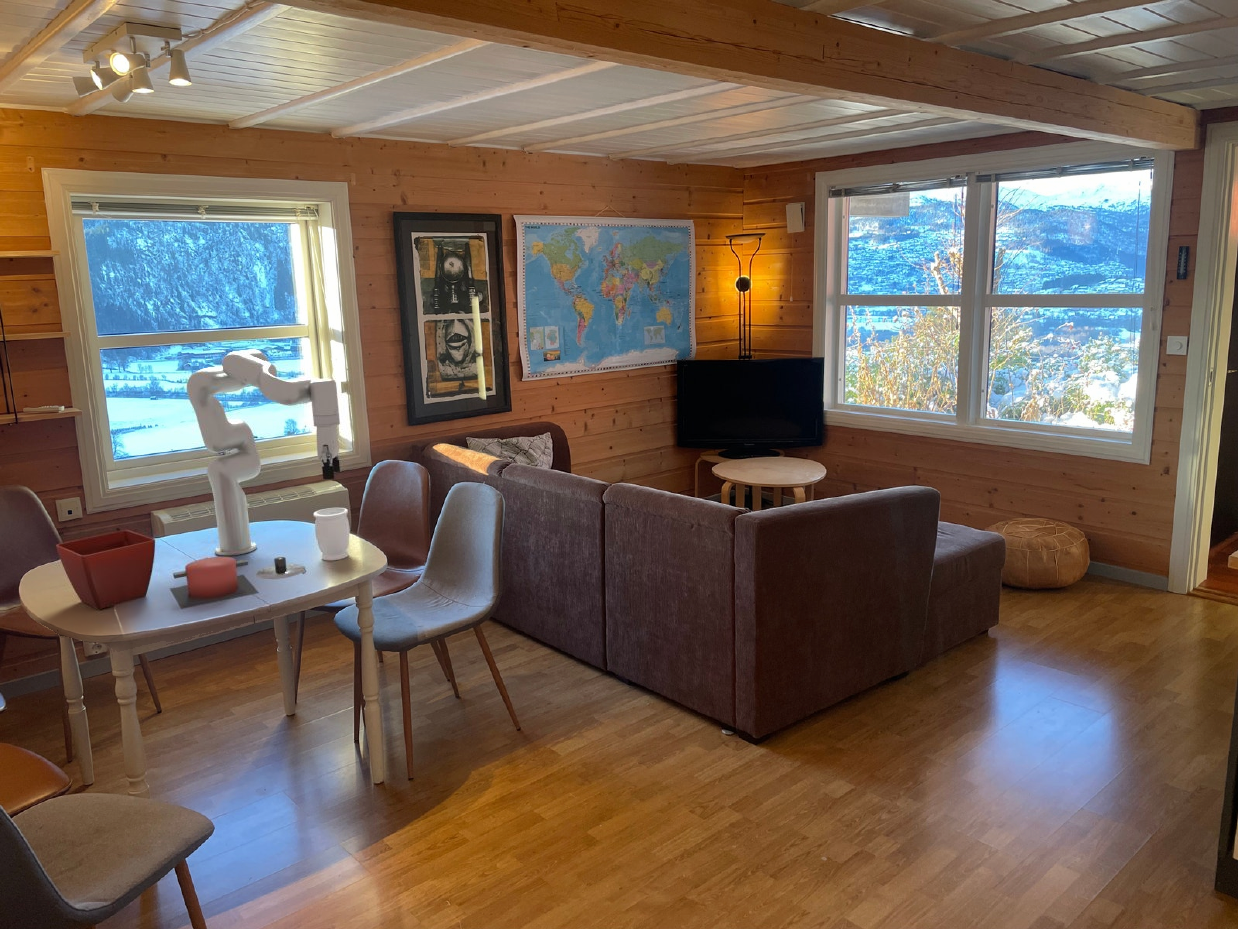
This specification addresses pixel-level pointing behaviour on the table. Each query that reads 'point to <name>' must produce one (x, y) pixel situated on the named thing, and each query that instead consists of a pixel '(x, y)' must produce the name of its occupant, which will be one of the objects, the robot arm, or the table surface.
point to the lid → (281, 570)
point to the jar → (332, 533)
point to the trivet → (187, 601)
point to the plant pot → (109, 567)
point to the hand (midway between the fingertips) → (331, 475)
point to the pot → (211, 577)
